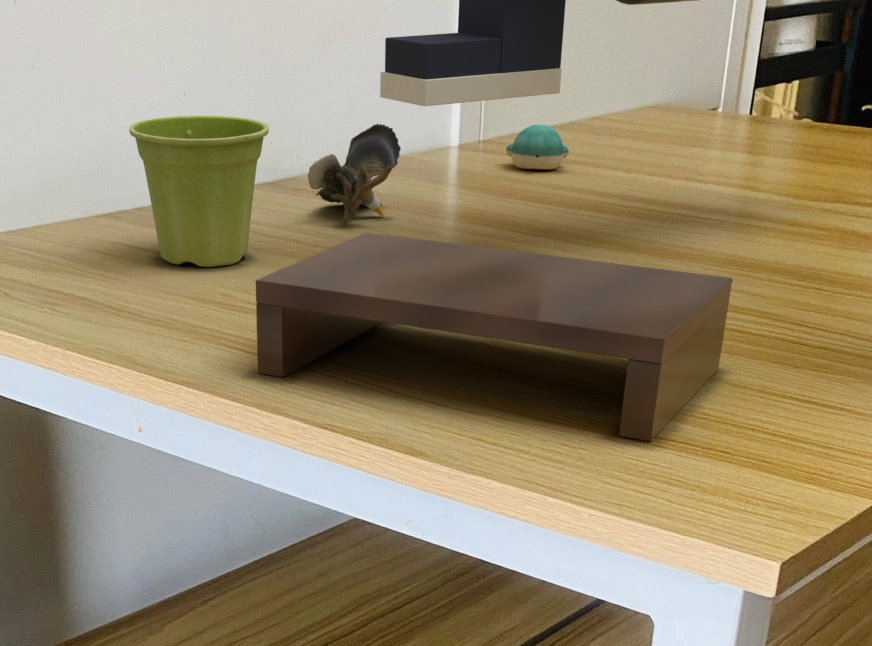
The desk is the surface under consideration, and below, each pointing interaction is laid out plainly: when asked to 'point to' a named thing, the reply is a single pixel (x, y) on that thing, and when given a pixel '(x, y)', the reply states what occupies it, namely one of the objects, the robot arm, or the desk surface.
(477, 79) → the boot
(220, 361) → the desk surface
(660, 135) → the desk surface
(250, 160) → the plant pot
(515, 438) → the desk surface
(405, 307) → the monitor riser stand
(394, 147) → the eagle figurine
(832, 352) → the desk surface
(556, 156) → the whale figurine
